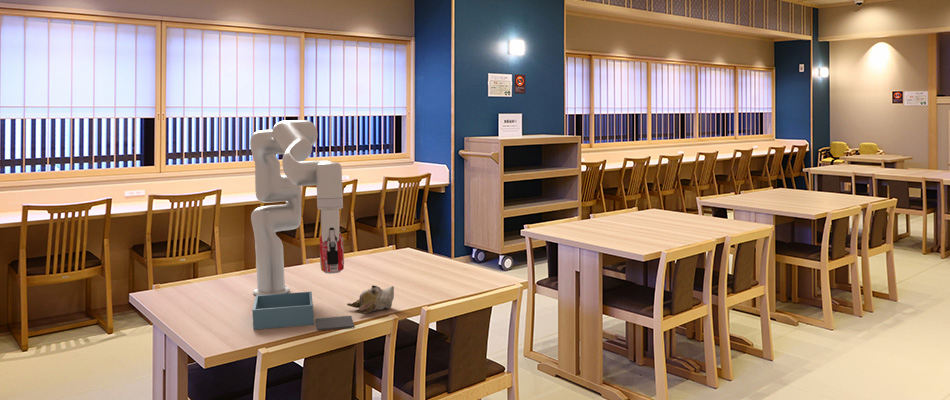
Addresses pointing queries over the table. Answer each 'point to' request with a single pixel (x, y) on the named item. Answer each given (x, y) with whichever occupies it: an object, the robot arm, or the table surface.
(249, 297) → the table surface
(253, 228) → the robot arm
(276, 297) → the open box
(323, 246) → the soda can
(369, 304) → the ceramic sculpture
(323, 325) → the gray square plate
